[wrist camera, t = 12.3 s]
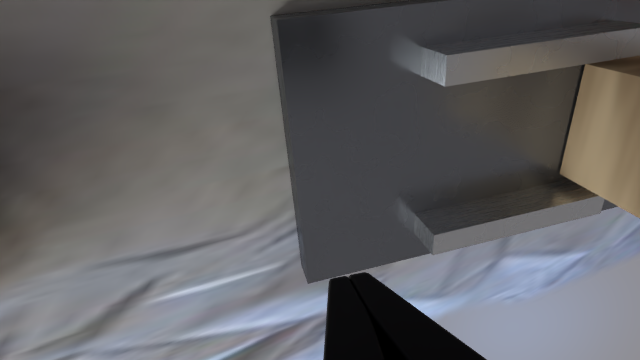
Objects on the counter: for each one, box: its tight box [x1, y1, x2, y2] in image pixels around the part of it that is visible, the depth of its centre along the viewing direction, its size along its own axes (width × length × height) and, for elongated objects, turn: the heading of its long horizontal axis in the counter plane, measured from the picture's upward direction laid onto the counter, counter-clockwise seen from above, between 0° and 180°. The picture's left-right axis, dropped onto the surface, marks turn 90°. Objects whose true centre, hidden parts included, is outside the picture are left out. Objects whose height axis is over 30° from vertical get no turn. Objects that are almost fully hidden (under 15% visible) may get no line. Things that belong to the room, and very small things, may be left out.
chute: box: [270, 0, 640, 284], centre depth 20 cm, size 22×13×4 cm, turn 95°
